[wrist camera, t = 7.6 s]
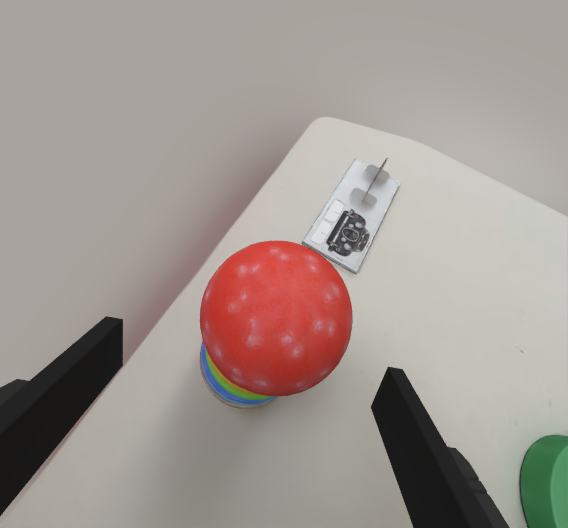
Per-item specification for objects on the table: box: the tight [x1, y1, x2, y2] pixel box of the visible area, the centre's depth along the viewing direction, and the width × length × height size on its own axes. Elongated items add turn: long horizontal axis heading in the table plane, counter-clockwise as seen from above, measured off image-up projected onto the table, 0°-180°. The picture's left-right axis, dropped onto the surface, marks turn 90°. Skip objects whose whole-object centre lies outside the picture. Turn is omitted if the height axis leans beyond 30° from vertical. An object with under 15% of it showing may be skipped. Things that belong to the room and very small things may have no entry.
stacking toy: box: [200, 241, 353, 408], centre depth 15 cm, size 8×8×19 cm
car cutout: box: [302, 158, 400, 274], centre depth 30 cm, size 15×7×4 cm, turn 150°
